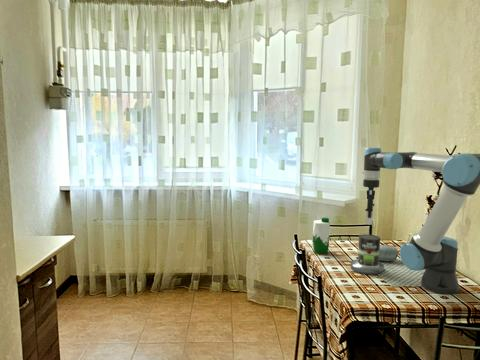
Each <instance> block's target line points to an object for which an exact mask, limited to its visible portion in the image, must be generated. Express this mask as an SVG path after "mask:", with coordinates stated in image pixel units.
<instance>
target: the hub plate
mask: <svg viewBox="0 0 480 360" xmlns="http://www.w3.org/2000/svg"><path fill="white" fill-rule="evenodd" d="M357 262H358V259H353V260H352V261H351V262H350V270H351V271H353V272H356V274H361V275H367V276H378V275H382V274H383V273H384V271H385V265H384V264H383V263H381V262H379V266H378V267H364V266H361V265H359V264H358V263H357Z"/></svg>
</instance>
